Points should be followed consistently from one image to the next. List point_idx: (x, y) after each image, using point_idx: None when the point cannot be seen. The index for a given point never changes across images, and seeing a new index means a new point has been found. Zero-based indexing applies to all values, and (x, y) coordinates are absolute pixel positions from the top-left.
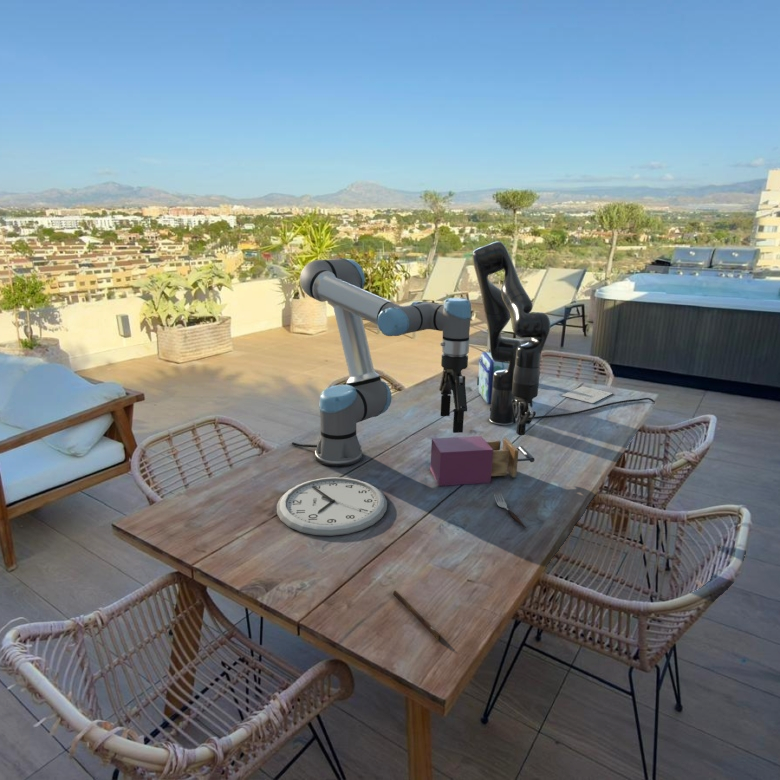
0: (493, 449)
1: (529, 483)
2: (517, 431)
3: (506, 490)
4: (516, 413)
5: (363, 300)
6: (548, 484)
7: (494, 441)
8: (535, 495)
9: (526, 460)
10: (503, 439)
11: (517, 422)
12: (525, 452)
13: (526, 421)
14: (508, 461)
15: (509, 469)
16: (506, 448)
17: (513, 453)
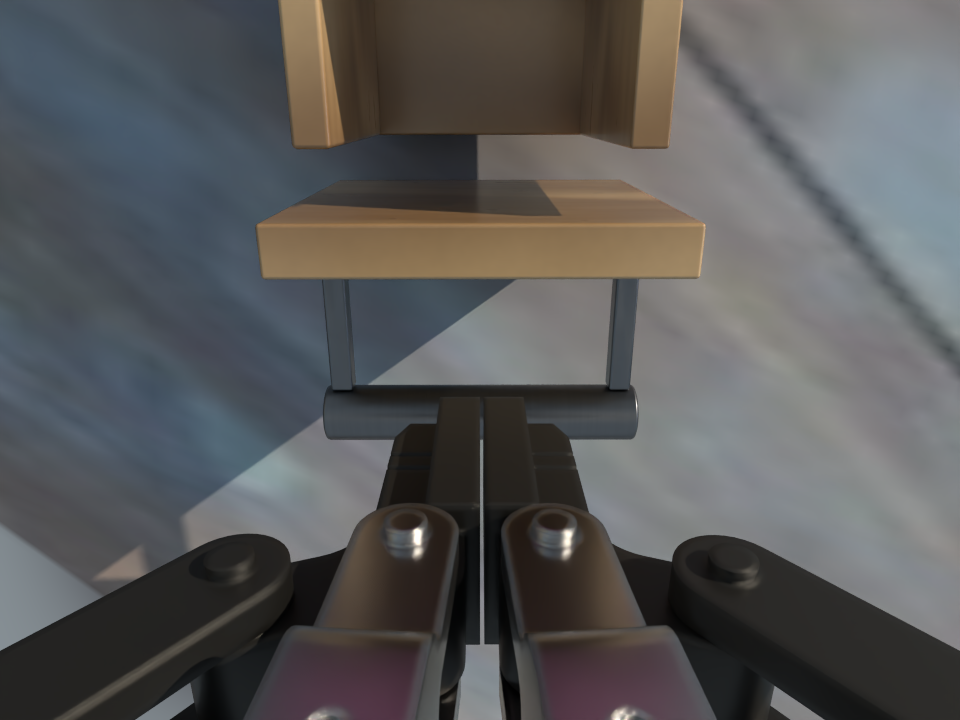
0: (615, 43)
1: (282, 301)
2: (485, 413)
3: (155, 45)
4: (558, 650)
5: None
6: (262, 433)
7: (653, 43)
8: (79, 264)
9: (331, 353)
10: (691, 220)
11: (531, 506)
12: None
13: (191, 685)
14: (451, 192)
15: (412, 184)
16: (545, 208)
17: (308, 213)
